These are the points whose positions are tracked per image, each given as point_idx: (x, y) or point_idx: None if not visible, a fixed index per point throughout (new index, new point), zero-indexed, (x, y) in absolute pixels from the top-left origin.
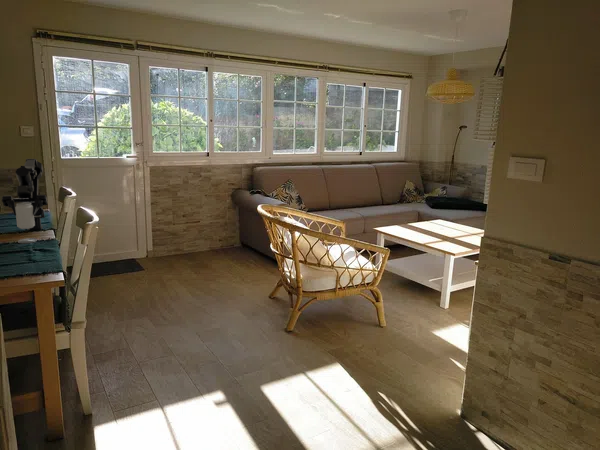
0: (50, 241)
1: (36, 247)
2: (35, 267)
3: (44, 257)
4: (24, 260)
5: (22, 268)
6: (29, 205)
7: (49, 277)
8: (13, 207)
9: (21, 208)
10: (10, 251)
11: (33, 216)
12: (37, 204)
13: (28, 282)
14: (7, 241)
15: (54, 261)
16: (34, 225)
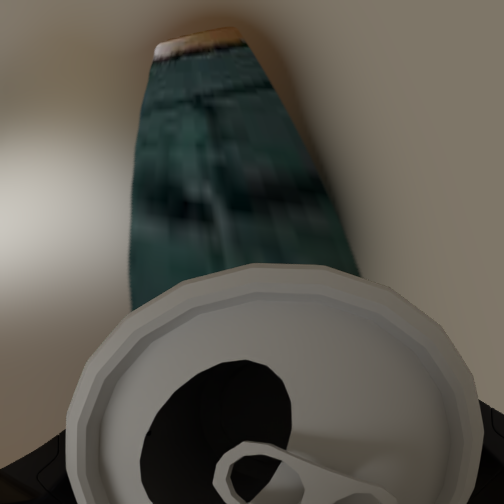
0: None
1: (204, 253)
2: (194, 73)
3: (170, 127)
4: (227, 107)
5: (222, 68)
6: (109, 370)
7: (170, 47)
8: (485, 424)
9: (293, 264)
10: (311, 204)
11: (168, 405)
12: (11, 466)
13: (203, 35)
14: None
15: (148, 102)
16: (200, 403)
